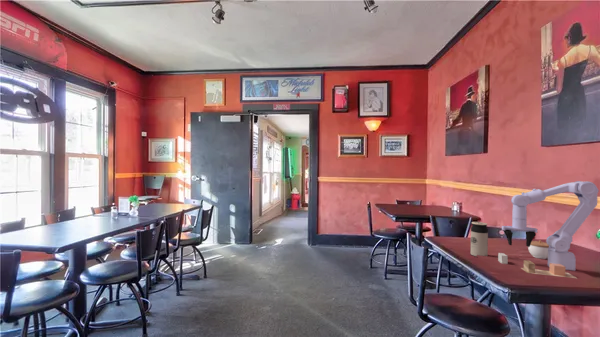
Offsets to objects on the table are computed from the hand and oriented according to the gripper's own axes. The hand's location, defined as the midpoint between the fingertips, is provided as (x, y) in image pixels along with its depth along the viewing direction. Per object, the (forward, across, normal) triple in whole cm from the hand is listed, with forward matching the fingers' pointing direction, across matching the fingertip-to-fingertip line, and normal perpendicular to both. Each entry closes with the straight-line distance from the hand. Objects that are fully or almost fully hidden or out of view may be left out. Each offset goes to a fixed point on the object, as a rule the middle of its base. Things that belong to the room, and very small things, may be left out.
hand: (519, 245), depth 144 cm
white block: (+9, +1, +4) cm, 10 cm away
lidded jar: (+10, -17, -20) cm, 28 cm away
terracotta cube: (+8, -10, +14) cm, 19 cm away
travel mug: (+10, +15, -10) cm, 20 cm away
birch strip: (+9, -6, +14) cm, 18 cm away
